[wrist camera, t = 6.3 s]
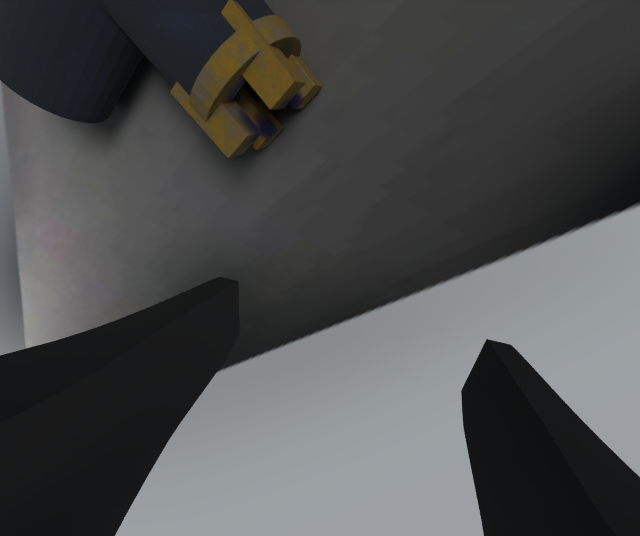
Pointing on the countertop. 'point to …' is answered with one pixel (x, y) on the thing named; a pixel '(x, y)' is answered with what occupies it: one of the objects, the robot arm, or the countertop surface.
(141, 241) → the countertop surface
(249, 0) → the pipe connector
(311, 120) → the countertop surface
